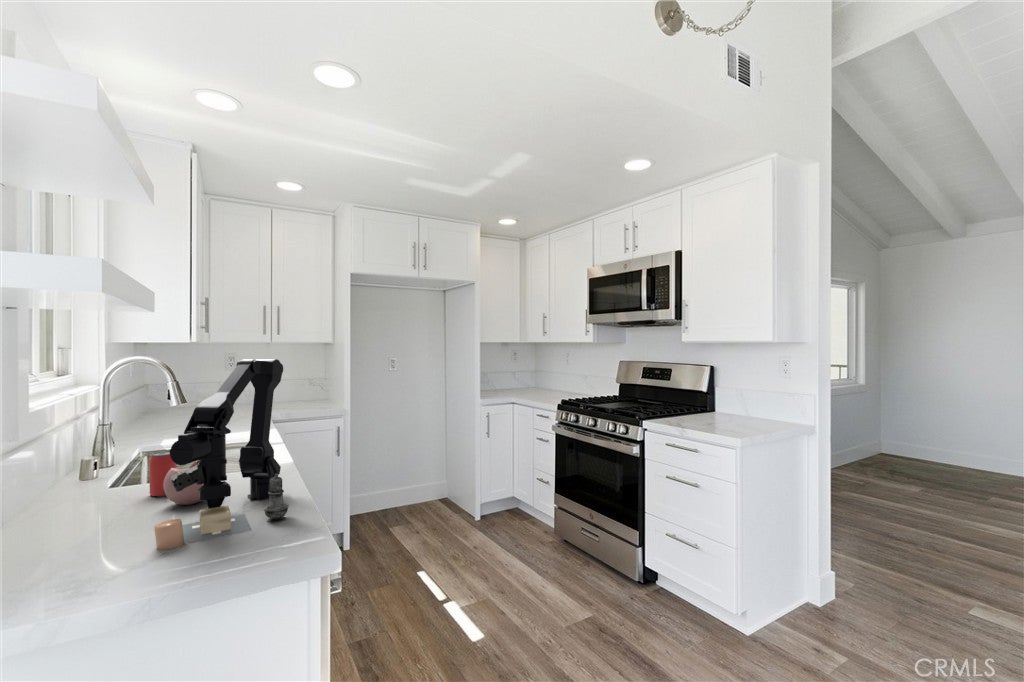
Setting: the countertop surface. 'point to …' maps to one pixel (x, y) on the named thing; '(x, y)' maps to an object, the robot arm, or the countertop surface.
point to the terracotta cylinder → (169, 534)
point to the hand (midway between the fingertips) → (213, 518)
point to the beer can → (159, 471)
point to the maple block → (215, 519)
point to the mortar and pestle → (183, 496)
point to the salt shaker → (276, 502)
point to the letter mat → (194, 533)
